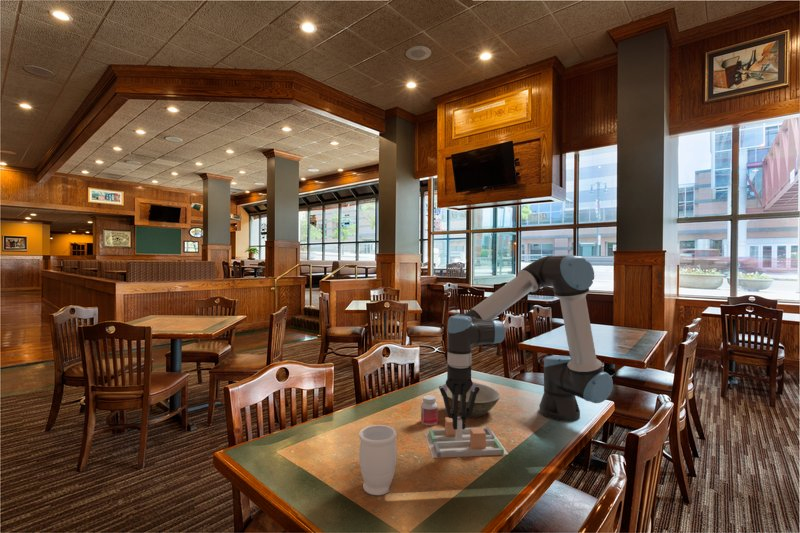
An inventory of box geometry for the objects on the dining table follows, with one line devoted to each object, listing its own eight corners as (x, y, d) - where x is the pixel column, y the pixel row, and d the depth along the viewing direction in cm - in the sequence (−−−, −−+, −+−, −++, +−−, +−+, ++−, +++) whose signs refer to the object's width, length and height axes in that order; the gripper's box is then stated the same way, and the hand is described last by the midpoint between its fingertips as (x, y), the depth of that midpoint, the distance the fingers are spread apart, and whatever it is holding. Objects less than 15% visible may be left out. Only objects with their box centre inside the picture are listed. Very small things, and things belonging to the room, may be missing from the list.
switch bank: (492, 435, 136) (492, 426, 135) (508, 458, 120) (508, 449, 120) (425, 438, 134) (424, 429, 134) (432, 462, 118) (432, 452, 118)
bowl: (509, 412, 156) (509, 388, 155) (481, 432, 138) (481, 405, 137) (460, 398, 171) (460, 376, 171) (428, 415, 153) (428, 390, 153)
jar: (359, 476, 110) (359, 425, 110) (395, 474, 111) (395, 423, 111) (358, 499, 100) (358, 442, 99) (398, 497, 100) (398, 441, 100)
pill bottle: (441, 427, 142) (441, 398, 142) (427, 431, 139) (427, 401, 138) (430, 421, 147) (430, 393, 147) (417, 425, 144) (417, 396, 143)
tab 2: (482, 445, 124) (482, 427, 124) (485, 452, 120) (485, 433, 120) (470, 446, 124) (470, 428, 124) (473, 452, 120) (473, 433, 120)
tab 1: (456, 434, 133) (456, 416, 133) (459, 439, 129) (459, 421, 129) (445, 434, 133) (445, 417, 132) (447, 439, 129) (447, 422, 128)
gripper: (476, 361, 125) (475, 432, 126) (436, 362, 124) (436, 434, 125) (482, 367, 118) (482, 443, 118) (441, 368, 117) (440, 445, 117)
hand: (458, 438), depth 122 cm, fingers closed
